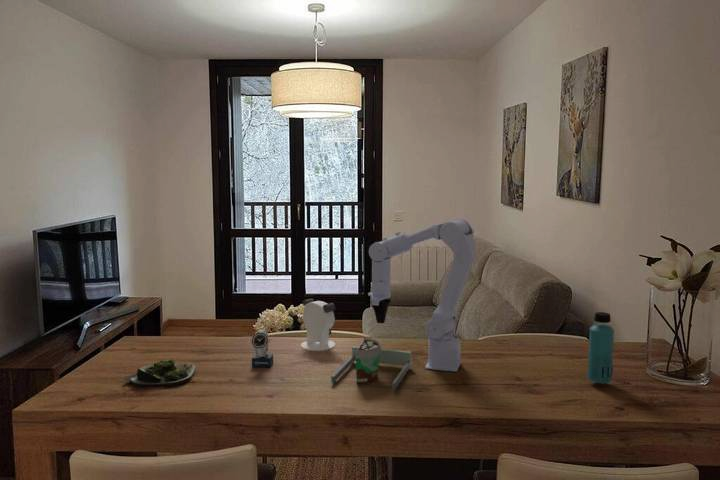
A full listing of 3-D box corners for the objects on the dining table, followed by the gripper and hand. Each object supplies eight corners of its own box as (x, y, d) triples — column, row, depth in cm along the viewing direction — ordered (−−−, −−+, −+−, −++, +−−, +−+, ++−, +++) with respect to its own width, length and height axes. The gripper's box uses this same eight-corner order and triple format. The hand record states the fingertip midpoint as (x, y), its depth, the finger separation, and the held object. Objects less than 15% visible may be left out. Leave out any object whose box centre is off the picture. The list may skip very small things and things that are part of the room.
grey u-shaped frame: (411, 367, 177) (411, 351, 177) (395, 392, 159) (395, 374, 158) (353, 361, 183) (353, 346, 182) (331, 384, 164) (331, 367, 164)
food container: (377, 387, 162) (377, 352, 161) (355, 386, 164) (355, 350, 162) (385, 372, 174) (385, 338, 173) (364, 370, 176) (364, 337, 174)
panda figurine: (343, 345, 199) (343, 301, 197) (319, 353, 191) (319, 307, 189) (317, 338, 207) (317, 295, 205) (293, 346, 199) (292, 301, 197)
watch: (250, 370, 176) (249, 334, 175) (256, 361, 184) (255, 326, 183) (269, 370, 176) (268, 334, 174) (274, 361, 184) (273, 326, 182)
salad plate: (143, 365, 182) (142, 350, 181) (202, 364, 183) (202, 349, 182) (120, 389, 163) (118, 373, 162) (186, 388, 163) (185, 372, 163)
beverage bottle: (600, 390, 160) (604, 317, 157) (581, 382, 166) (584, 311, 163) (617, 386, 163) (621, 314, 160) (597, 378, 169) (601, 309, 166)
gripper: (374, 274, 194) (374, 315, 196) (362, 283, 180) (361, 327, 182) (396, 276, 192) (395, 317, 194) (384, 285, 178) (384, 329, 180)
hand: (380, 322), depth 188 cm, fingers closed
